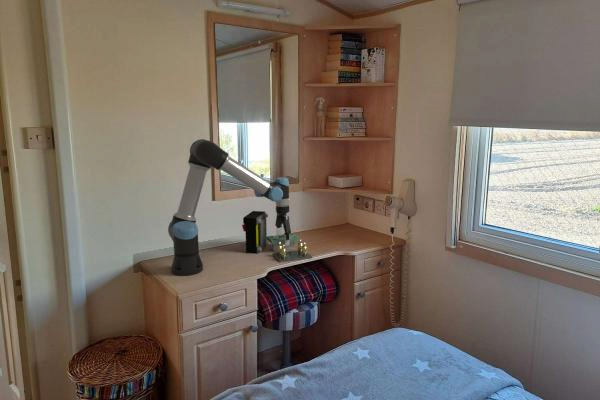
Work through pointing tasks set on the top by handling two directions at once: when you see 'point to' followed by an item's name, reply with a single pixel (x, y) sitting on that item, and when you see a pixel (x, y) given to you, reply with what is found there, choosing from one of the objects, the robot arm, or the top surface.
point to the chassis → (292, 253)
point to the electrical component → (255, 231)
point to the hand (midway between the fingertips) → (283, 242)
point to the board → (281, 238)
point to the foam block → (291, 246)
